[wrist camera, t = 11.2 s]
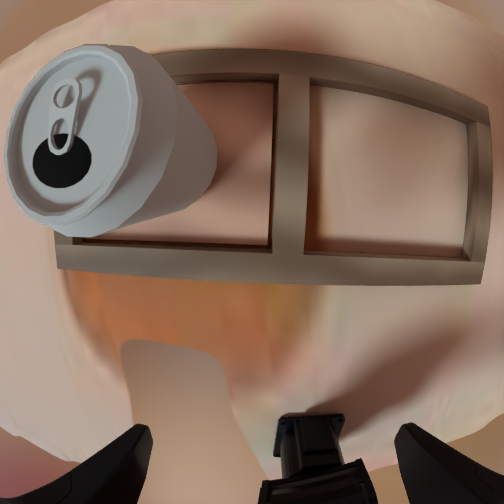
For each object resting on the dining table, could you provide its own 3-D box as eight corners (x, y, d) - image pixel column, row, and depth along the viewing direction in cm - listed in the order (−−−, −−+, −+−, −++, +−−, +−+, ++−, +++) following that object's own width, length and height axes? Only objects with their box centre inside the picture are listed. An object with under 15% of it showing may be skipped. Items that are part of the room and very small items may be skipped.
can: (112, 204, 19) (-16, 227, 7) (131, 107, 17) (23, 45, 5) (207, 222, 19) (134, 271, 7) (230, 116, 17) (192, 16, 6)
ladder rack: (470, 279, 20) (480, 284, 18) (67, 264, 20) (57, 268, 19) (478, 110, 16) (487, 107, 15) (75, 81, 17) (66, 76, 15)
